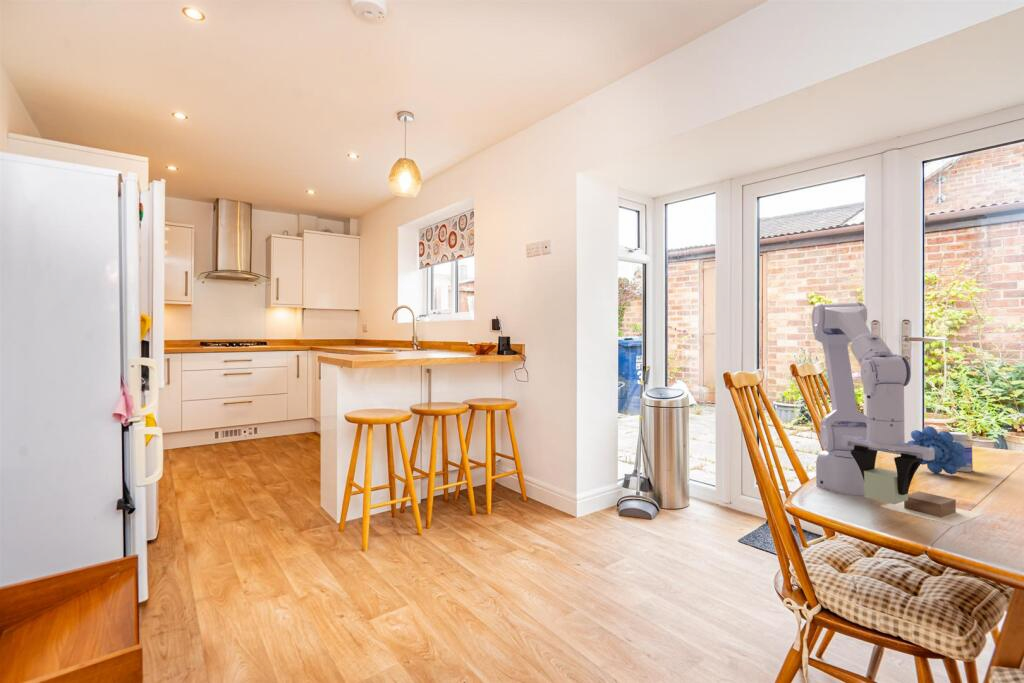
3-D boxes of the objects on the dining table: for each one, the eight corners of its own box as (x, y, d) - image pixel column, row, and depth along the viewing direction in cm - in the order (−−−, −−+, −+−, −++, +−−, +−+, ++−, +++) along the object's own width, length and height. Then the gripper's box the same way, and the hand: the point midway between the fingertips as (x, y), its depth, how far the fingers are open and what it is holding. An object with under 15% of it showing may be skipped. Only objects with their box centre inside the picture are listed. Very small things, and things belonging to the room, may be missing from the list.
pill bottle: (978, 472, 126) (978, 434, 126) (958, 472, 126) (957, 435, 126) (959, 466, 131) (958, 431, 131) (939, 467, 131) (938, 431, 131)
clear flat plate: (879, 510, 99) (879, 506, 99) (909, 500, 105) (909, 496, 105) (954, 530, 89) (954, 525, 89) (982, 518, 94) (982, 514, 94)
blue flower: (904, 472, 127) (904, 426, 127) (909, 467, 131) (908, 423, 131) (965, 481, 118) (964, 432, 118) (967, 475, 123) (967, 428, 123)
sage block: (864, 496, 94) (864, 471, 94) (878, 492, 96) (877, 467, 96) (894, 504, 90) (894, 477, 90) (908, 500, 92) (907, 473, 92)
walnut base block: (904, 508, 98) (904, 495, 98) (918, 503, 101) (918, 491, 101) (941, 517, 93) (941, 504, 93) (955, 512, 95) (955, 499, 95)
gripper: (833, 415, 97) (834, 483, 98) (920, 426, 85) (921, 504, 85) (852, 412, 101) (853, 478, 101) (939, 423, 88) (940, 497, 88)
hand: (885, 489), depth 93 cm, fingers closed on sage block, 5 cm apart
